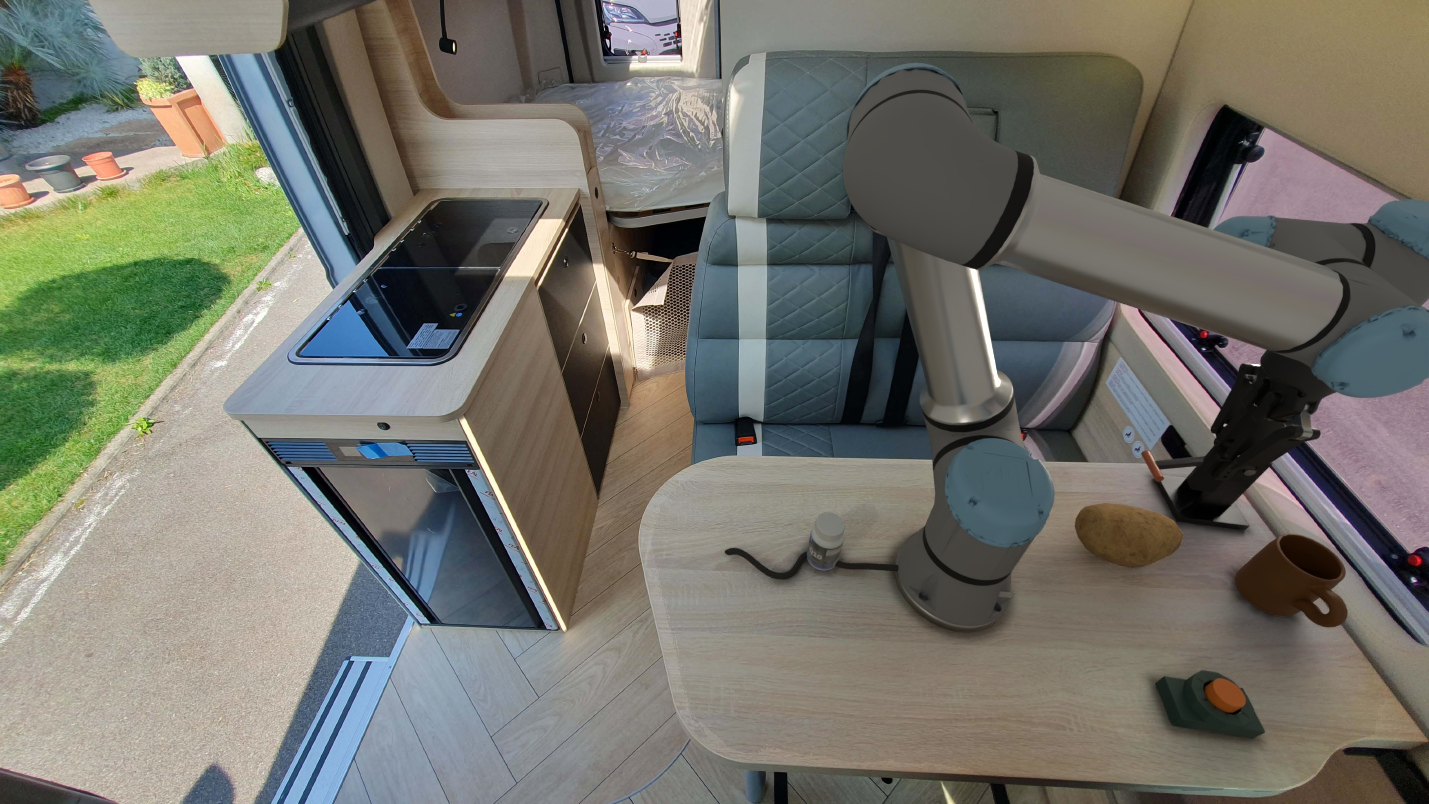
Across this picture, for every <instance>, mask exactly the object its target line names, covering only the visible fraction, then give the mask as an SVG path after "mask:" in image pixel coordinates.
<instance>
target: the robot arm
mask: <svg viewBox="0 0 1429 804" xmlns="http://www.w3.org/2000/svg"><path fill="white" fill-rule="evenodd" d="M966 102H967V101H966V97H965V93H964V92H963V90H962V88H961V86H960V84H959V83H958V82H957V81H956V80H955V78H954V77H953V76H952V75H950V74H948V72H946V71H944V70H943V69H941V68H939V67H937V66H935V65H932V64H929V63H923V62H922V63H921V62H910V63H909V62H908V63H902V64H899V65H896V66H893V67H891V68H888V69H886V70H885V71H883V72H881V73H880V74H878V75H877V76H876V77H874V78H873V79H872V80H871V81H869V83H868V84H867V85H866V86H865V87H864V88H863V90H862V91H861V92H860V94H859V95H858V97H857V99H856V100H855V102H854V103H853V105H852V107H851V110H850V112H849V114H848V119H847V122H846V130H845V131H846V149H845V153H844V157H843V165H842V168H843V169H842V177H843V183H844V189H845V190H844V191H845V192H846V195H847V197H848V200H849V202H850V204H851V206H852V207H853V209H854V211H855V212H856V213H857V215H859V217H861V219H862V220H863V221H864V222H865V223H866V224H868V227H869V229H870V230H871V231H872V232H874V233H876V234H879V235H881V236H884V237H886V240H887V243H888V246H889V251H890V255H891V258H892V261H893V265H894V269H895V273H896V276H897V280H898V283H899V287H900V290H901V294H902V298H903V302H904V306H905V310H906V313H907V317H908V320H909V324H910V327H911V331H912V335H913V340H914V342H915V343H914V344H915V346H916V351H917V353H918V357H919V360H920V365H921V368H922V372H923V376H924V380H925V384H924V386H923V387H922V389H921V392H920V394H919V406H920V410H921V412H922V416H923V420H924V423H925V427H926V430H927V434H928V438H929V443H930V454H931V463H932V474H933V487H934V502H933V506H932V508H931V510H930V513H929V514H928V517H927V521H926V522H925V525H924V526H922V527H921V528H920V529H919V530H918V531H916V532H914V533H913V534H911V535H910V536H909V537H907V538H906V540H905V541H904V542H903V543H902V545H901V546H900V548H899V550H898V553H897V556H896V558H895V562H894V564H892V563H891V564H890V563H878V562H877V563H876V562H846V561H841V560H838V561H837V563H836V564H835V567H836V568H839V569H843V570H851V571H852V570H853V571H858V570H860V571H862V570H866V571H867V570H868V571H871V570H872V571H884V572H894V576H895V577H894V578H895V582H896V585H897V587H898V590H899V592H900V593H901V595H902V597H903V598H904V599H905V601H906V602H907V603H908V604H909V606H910V607H911V608H912V609H913V610H914V611H915V612H917V614H918V615H920V616H922V617H923V618H924V619H926V620H927V621H929V622H931V623H932V624H934V625H936V626H938V627H941V628H944V629H946V630H949V631H953V632H954V631H955V632H962V633H974V632H979V631H982V630H985V629H988V628H990V627H992V626H993V625H994V624H995V623H997V621H999V620H1000V618H1001V617H1002V616H1003V614H1004V613H1005V611H1006V610H1007V607H1008V605H1009V603H1010V599H1014V597H1015V596H1016V595H1017V592H1015V591H1012V572H1013V571H1014V569H1015V567H1016V566H1017V564H1018V563H1019V562H1020V560H1021V559H1022V558H1023V556H1024V554H1025V553H1026V552H1027V550H1028V549H1029V547H1030V545H1031V544H1032V543H1033V541H1034V539H1035V538H1036V536H1038V535H1039V534H1040V533H1041V532H1042V531H1043V529H1044V527H1045V526H1046V523H1047V521H1048V519H1049V517H1050V513H1051V511H1052V509H1053V506H1054V502H1055V495H1056V494H1055V492H1056V491H1055V486H1054V482H1053V481H1054V480H1053V478H1052V476H1051V474H1050V472H1049V470H1048V469H1047V467H1046V466H1045V464H1044V463H1043V462H1042V461H1041V460H1040V459H1039V458H1032V454H1033V453H1032V452H1031V451H1030V450H1029V449H1027V448H1026V446H1025V442H1024V439H1023V435H1022V432H1021V427H1020V426H1021V425H1020V421H1019V417H1018V416H1019V415H1018V411H1017V404H1016V399H1015V393H1014V387H1013V383H1012V381H1011V379H1010V378H1009V377H1008V376H1007V375H1006V373H1004V372H1003V371H1001V370H999V369H997V366H996V360H995V355H994V349H993V343H992V338H991V337H992V336H991V333H990V326H989V321H988V316H987V310H986V303H985V299H984V294H983V289H982V288H983V287H982V282H981V277H980V271H982V270H985V269H987V268H989V267H990V266H993V265H995V264H997V265H1001V266H1004V267H1007V268H1009V269H1013V270H1015V271H1019V272H1023V273H1025V274H1028V275H1031V276H1035V277H1038V278H1041V279H1044V280H1047V281H1050V282H1052V283H1053V282H1054V283H1057V284H1060V285H1063V286H1065V287H1069V288H1071V289H1074V290H1078V291H1082V292H1085V293H1087V294H1091V295H1094V296H1097V297H1100V298H1103V299H1107V300H1110V301H1113V302H1115V303H1118V304H1122V305H1124V306H1127V307H1131V308H1134V309H1137V310H1140V311H1144V312H1147V313H1149V314H1153V315H1156V316H1160V317H1162V318H1165V319H1168V320H1171V321H1175V322H1178V323H1182V324H1184V325H1188V326H1191V327H1194V328H1196V329H1200V330H1203V331H1206V332H1209V333H1213V334H1216V335H1218V336H1222V337H1225V338H1228V339H1231V340H1234V341H1237V342H1241V343H1244V344H1247V345H1250V346H1253V347H1256V348H1259V349H1263V350H1265V351H1264V352H1263V353H1262V354H1261V356H1260V358H1259V364H1255V363H1245V362H1243V363H1241V364H1240V365H1239V367H1238V371H1237V375H1236V379H1235V382H1234V383H1233V385H1232V387H1231V389H1230V391H1229V393H1228V395H1227V396H1226V398H1225V400H1224V402H1223V404H1222V405H1221V408H1220V409H1219V412H1218V413H1217V415H1216V417H1215V418H1214V421H1213V423H1212V424H1211V426H1210V433H1211V434H1213V435H1215V438H1214V439H1213V446H1212V447H1211V448H1210V450H1209V451H1208V452H1207V453H1206V454H1205V455H1204V456H1205V457H1204V459H1203V461H1204V462H1203V463H1202V464H1201V465H1200V466H1199V468H1198V469H1197V470H1196V471H1195V472H1194V474H1193V475H1192V476H1191V477H1190V478H1189V480H1188V481H1187V482H1188V484H1189V486H1190V487H1191V489H1192V490H1200V491H1207V492H1214V491H1215V490H1216V489H1217V488H1218V487H1219V486H1220V485H1221V484H1222V483H1223V481H1227V480H1229V479H1230V478H1231V477H1232V476H1233V475H1234V474H1235V473H1236V472H1237V471H1238V469H1244V470H1251V471H1259V470H1261V469H1262V468H1264V467H1265V466H1267V465H1269V464H1270V463H1272V464H1273V463H1274V462H1275V461H1277V460H1278V459H1279V458H1281V457H1282V456H1284V455H1287V453H1289V452H1290V451H1292V450H1293V449H1295V448H1296V447H1298V446H1300V445H1301V444H1302V443H1305V442H1310V441H1314V440H1315V441H1316V440H1318V439H1319V438H1320V437H1321V435H1322V432H1321V429H1318V428H1315V427H1312V418H1311V416H1312V415H1314V414H1315V413H1316V412H1317V410H1318V409H1319V407H1320V403H1321V402H1322V400H1323V399H1325V398H1327V397H1328V396H1331V395H1334V394H1336V393H1338V394H1339V395H1342V396H1344V397H1345V396H1346V397H1350V398H1356V399H1375V398H1383V397H1388V396H1392V395H1397V394H1400V393H1402V392H1406V391H1408V390H1411V389H1413V388H1415V387H1417V386H1419V385H1422V384H1423V382H1424V381H1426V380H1427V379H1429V308H1428V307H1426V306H1423V305H1424V304H1426V303H1427V301H1428V300H1429V200H1423V199H1413V198H1404V199H1399V200H1396V199H1395V200H1391V201H1387V202H1386V203H1384V204H1383V205H1381V206H1380V207H1379V208H1378V210H1377V211H1376V212H1375V213H1374V214H1373V215H1370V216H1369V217H1368V219H1367V222H1364V223H1363V222H1362V223H1360V222H1349V223H1348V222H1347V223H1345V222H1335V221H1323V220H1313V219H1312V220H1311V219H1301V218H1300V219H1299V218H1288V217H1279V216H1276V215H1266V216H1262V215H1261V216H1251V215H1237V216H1232V217H1229V218H1227V219H1225V220H1223V221H1222V222H1220V223H1218V224H1217V225H1216V226H1215V227H1214V228H1213V229H1211V228H1209V227H1205V226H1202V225H1199V224H1196V223H1193V222H1190V221H1188V220H1184V219H1182V218H1179V217H1178V218H1177V217H1175V216H1172V215H1169V214H1166V213H1162V212H1160V211H1156V210H1153V209H1150V208H1147V207H1143V206H1140V205H1138V204H1134V203H1132V202H1128V201H1125V200H1122V199H1119V198H1117V197H1116V198H1115V197H1113V196H1110V195H1106V194H1103V193H1100V192H1097V191H1094V190H1091V189H1088V188H1085V187H1082V186H1080V185H1076V184H1073V183H1070V182H1067V181H1064V180H1061V179H1058V178H1054V177H1051V176H1048V175H1045V174H1042V173H1041V172H1040V168H1039V165H1038V161H1037V159H1036V158H1035V156H1032V155H1030V154H1026V153H1024V152H1022V151H1021V152H1020V151H1018V150H1014V149H1012V148H1009V147H1007V146H1005V145H1003V144H1001V143H1000V142H997V141H995V140H994V139H992V138H991V137H989V136H988V135H987V134H986V133H984V132H983V131H981V130H980V129H979V128H978V127H977V126H976V125H975V124H974V122H973V120H972V116H971V113H970V111H969V109H968V106H967V103H966ZM724 554H725V555H727V556H732V555H734V556H735V555H736V556H738V557H741V558H742V559H745V560H746V561H747V562H748V563H749V564H751V565H752V566H753V567H754V568H755V569H756V570H758V571H759V572H760V573H762V574H764V575H765V576H767V577H769V578H771V579H775V580H789V579H790V578H793V577H794V576H795V575H796V574H797V573H798V572H799V571H800V569H801V567H802V565H803V564H804V563H805V561H806V560H807V550H805V551H803V552H802V553H801V554H800V555H799V556H798V558H797V559H796V561H795V562H794V564H793V566H792V567H791V568H790V569H789V570H788V571H785V572H777V571H774V570H772V569H769V568H768V567H766V566H765V565H763V564H762V563H761V562H760V561H759V560H758V559H757V558H755V557H754V556H753V555H752V554H750V553H749V552H747V551H746V550H744V549H742V548H738V547H729V548H727V549H725V550H724Z"/></svg>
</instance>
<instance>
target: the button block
mask: <svg viewBox="0 0 1429 804" xmlns="http://www.w3.org/2000/svg"><path fill="white" fill-rule="evenodd" d="M1216 679H1226V680H1228V681H1230V682H1232V683H1234V684H1235V685H1236V686H1237V687H1239V689H1240V690H1241V691H1242V692H1243V694H1244V696H1245V699H1246V703H1245V705H1244V706H1243V707H1241V708H1240V709H1238V710H1236V711H1235V712H1233V713H1226V712H1223V711H1221V710H1219V709H1217V708H1216V707H1214V706H1213V705H1212V704H1211V703H1210V702H1209V700H1208V699H1207V697H1206V695H1205V687H1206V686H1207V685H1208V684H1210V683H1211V682H1213V681H1214V680H1216ZM1154 684H1155V687H1156V690H1157V692H1158V695H1159V697H1160V699H1161V702H1162V705H1163V707H1164V710H1165V712H1166V715H1167V717H1168V720H1169V722H1170V724H1171V726H1172V727H1176V728H1183V729H1189V730H1196V731H1202V732H1208V733H1213V734H1221V735H1227V736H1233V737H1240V738H1245V739H1252V740H1254V739H1256V738H1257V737H1260V736H1262V735H1263V734H1265V733H1266V731H1265V729H1264V727H1263V725H1262V722H1261V720H1260V719H1259V717H1258V714H1257V712H1256V711H1255V708H1254V706H1253V703H1252V701H1251V700H1250V698H1249V696H1248V695H1247V693H1246V691H1245V689H1244V688H1243V687H1240V686H1239V685H1238V684H1237V683H1236V682H1235V681H1234V680H1232V679H1231V678H1228V676H1225V675H1223V674H1221V673H1219V672H1217V671H1211V670H1205V669H1202V670H1199V671H1198V672H1196V673H1193V674H1192V675H1190V676H1189V677H1188V678H1187V679H1186V678H1179V677H1173V676H1166V675H1164V676H1162V677H1161V678H1159V680H1157V681H1156V682H1154Z"/></svg>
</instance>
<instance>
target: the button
mask: <svg viewBox="0 0 1429 804" xmlns="http://www.w3.org/2000/svg"><path fill="white" fill-rule="evenodd" d="M1239 687H1240V686H1239ZM1239 687H1237V686H1236V685H1235V684H1234V683H1232V682H1230V681H1228V680H1226V679H1216V680H1214V681H1213V682H1211V683H1210V684H1208V685H1207V686H1206V687H1205V695H1206V697H1207V699H1208V700H1209V702H1210V703H1211V704H1212V705H1213V706H1214V707H1216V708H1217V709H1219V710H1221V711H1223V712H1226V713H1233V712H1235V711H1236V710H1238V709H1240V708H1241V707H1243V706H1244V705H1245V703H1246V699H1245V696H1244V694H1243V692H1242V691H1241V690H1240V689H1239Z"/></svg>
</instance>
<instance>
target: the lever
mask: <svg viewBox="0 0 1429 804" xmlns="http://www.w3.org/2000/svg"><path fill="white" fill-rule="evenodd" d="M1140 455H1141V457H1142V459H1143V460H1144V462H1145V464H1146V466H1147V468H1148V470H1149V472H1150V474H1151V475H1152V478H1154V479H1155V481H1158V482H1159V481H1163V480H1164V476H1163V475H1164V474H1163V472H1162V471H1161V470H1172V469H1182V468H1183V469H1184V468H1195V467H1196V466H1200V465H1201V464H1202V463H1203V462H1204V461H1203V459H1204V457H1205V456H1206V455H1201V456H1191V457H1182V458H1181V457H1180V458H1170V459H1159V460H1155V458H1154V457H1153V455H1152V452H1151V451H1150V450H1143V451H1141V453H1140ZM1154 479H1153V480H1154ZM1155 481H1154V482H1155Z"/></svg>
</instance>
